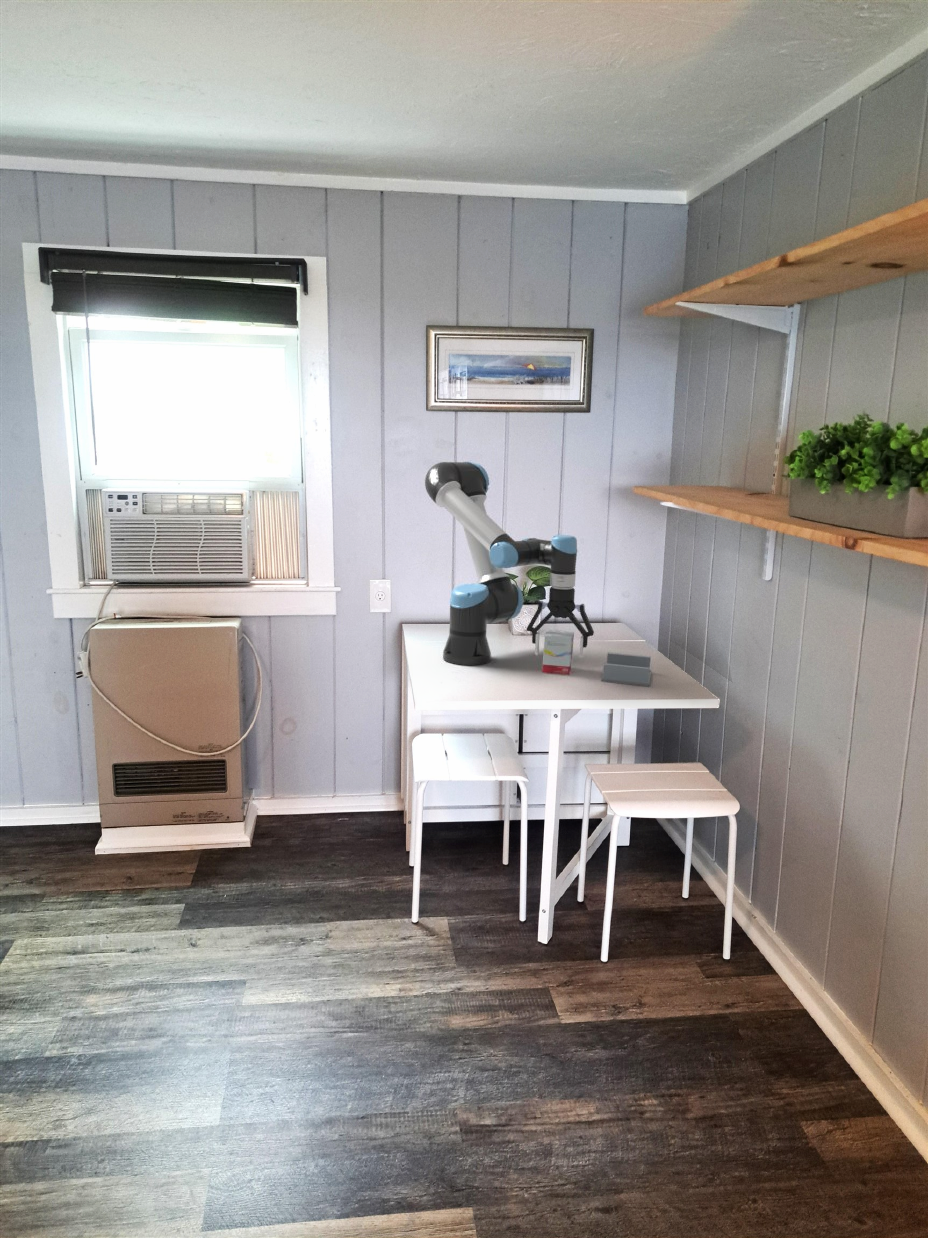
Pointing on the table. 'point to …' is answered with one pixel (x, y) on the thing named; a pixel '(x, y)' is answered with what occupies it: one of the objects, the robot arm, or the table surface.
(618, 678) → the channel holder
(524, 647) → the table surface
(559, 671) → the ink box
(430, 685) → the table surface
